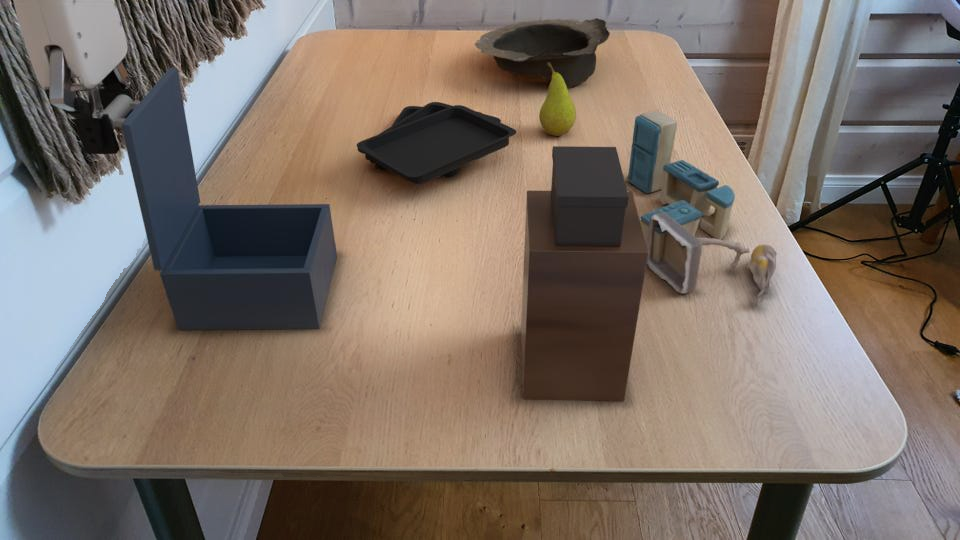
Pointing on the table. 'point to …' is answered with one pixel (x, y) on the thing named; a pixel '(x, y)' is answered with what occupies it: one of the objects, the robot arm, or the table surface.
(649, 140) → the toy kitchen set
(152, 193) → the box lid
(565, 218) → the dark grey rectangular block
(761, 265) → the decorative sculpture
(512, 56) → the stone bowl
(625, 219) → the stand
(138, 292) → the table surface
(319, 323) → the storage box
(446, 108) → the tray
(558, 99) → the fruit
